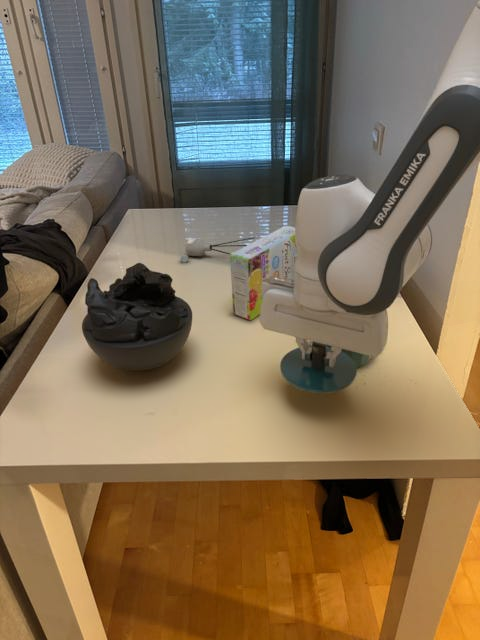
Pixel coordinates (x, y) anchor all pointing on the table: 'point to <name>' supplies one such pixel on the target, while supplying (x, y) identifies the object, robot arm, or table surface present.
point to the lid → (318, 370)
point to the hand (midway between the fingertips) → (318, 361)
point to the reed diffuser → (202, 248)
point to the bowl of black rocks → (136, 320)
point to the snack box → (261, 269)
